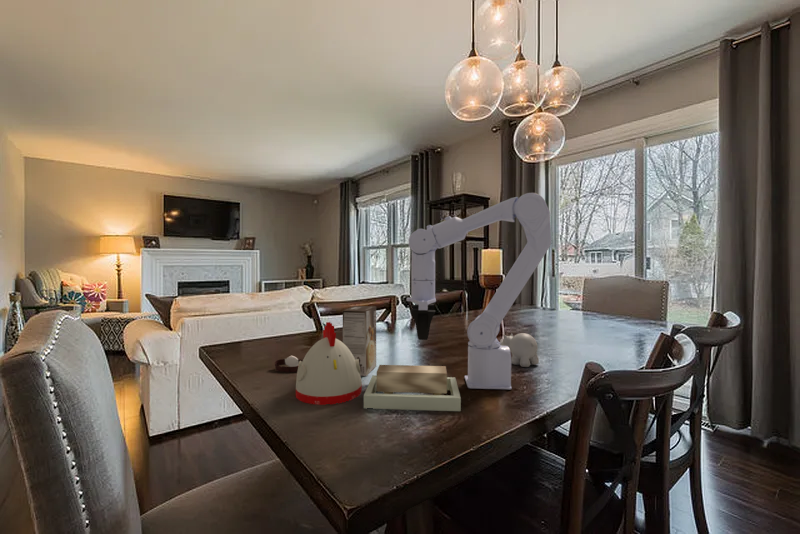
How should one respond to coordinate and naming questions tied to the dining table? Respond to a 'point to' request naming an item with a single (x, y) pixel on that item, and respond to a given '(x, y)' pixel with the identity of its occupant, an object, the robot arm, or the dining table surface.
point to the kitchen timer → (328, 372)
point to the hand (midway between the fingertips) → (422, 336)
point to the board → (412, 379)
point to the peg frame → (413, 399)
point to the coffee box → (361, 335)
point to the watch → (290, 361)
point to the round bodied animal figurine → (521, 349)
